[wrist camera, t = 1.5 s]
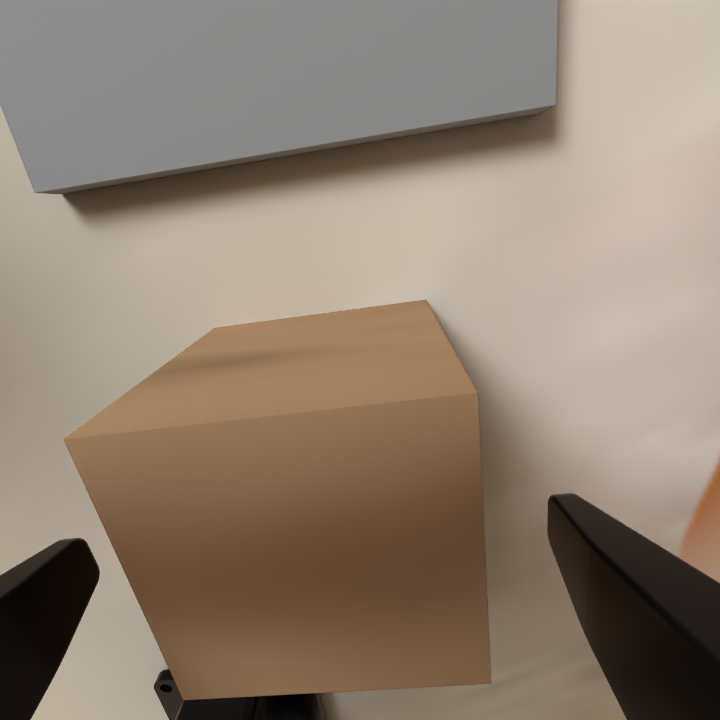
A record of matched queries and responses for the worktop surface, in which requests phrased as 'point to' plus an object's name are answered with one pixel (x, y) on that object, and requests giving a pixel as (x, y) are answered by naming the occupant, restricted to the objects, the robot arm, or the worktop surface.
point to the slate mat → (255, 78)
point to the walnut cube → (302, 506)
